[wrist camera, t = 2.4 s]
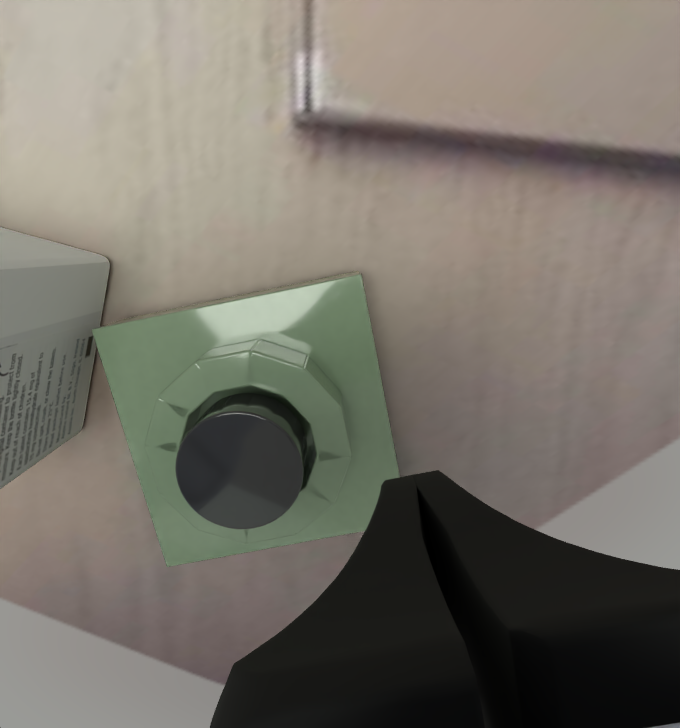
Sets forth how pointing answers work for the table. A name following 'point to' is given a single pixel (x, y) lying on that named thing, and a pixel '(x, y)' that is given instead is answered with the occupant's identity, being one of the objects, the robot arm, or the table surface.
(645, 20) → the table surface
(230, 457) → the dark grey push button
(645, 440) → the table surface
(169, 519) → the push button base
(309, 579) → the table surface
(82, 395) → the container
